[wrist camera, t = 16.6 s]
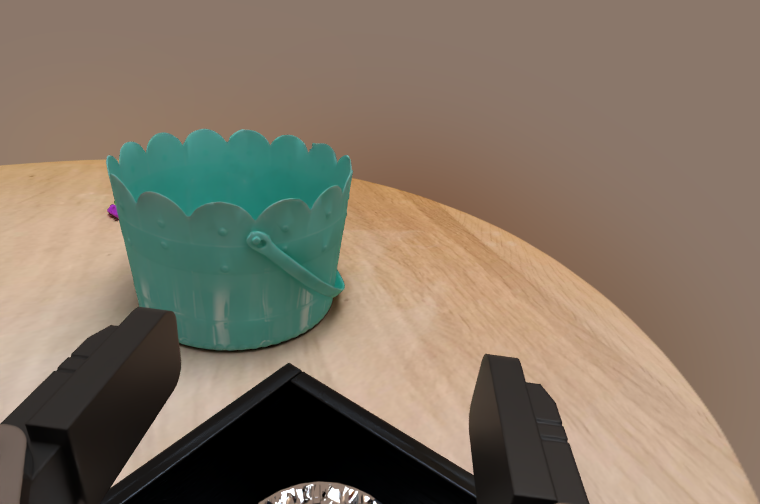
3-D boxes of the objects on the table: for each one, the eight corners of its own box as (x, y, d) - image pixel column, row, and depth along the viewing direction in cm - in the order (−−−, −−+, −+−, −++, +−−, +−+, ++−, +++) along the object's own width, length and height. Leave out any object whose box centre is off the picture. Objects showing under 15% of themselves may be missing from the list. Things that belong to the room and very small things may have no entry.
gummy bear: (126, 221, 54) (122, 191, 53) (100, 220, 54) (95, 190, 52) (140, 204, 59) (136, 176, 57) (116, 203, 58) (111, 175, 56)
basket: (170, 240, 51) (158, 118, 45) (342, 251, 53) (351, 135, 48) (89, 359, 34) (52, 189, 29) (344, 367, 37) (359, 210, 31)
